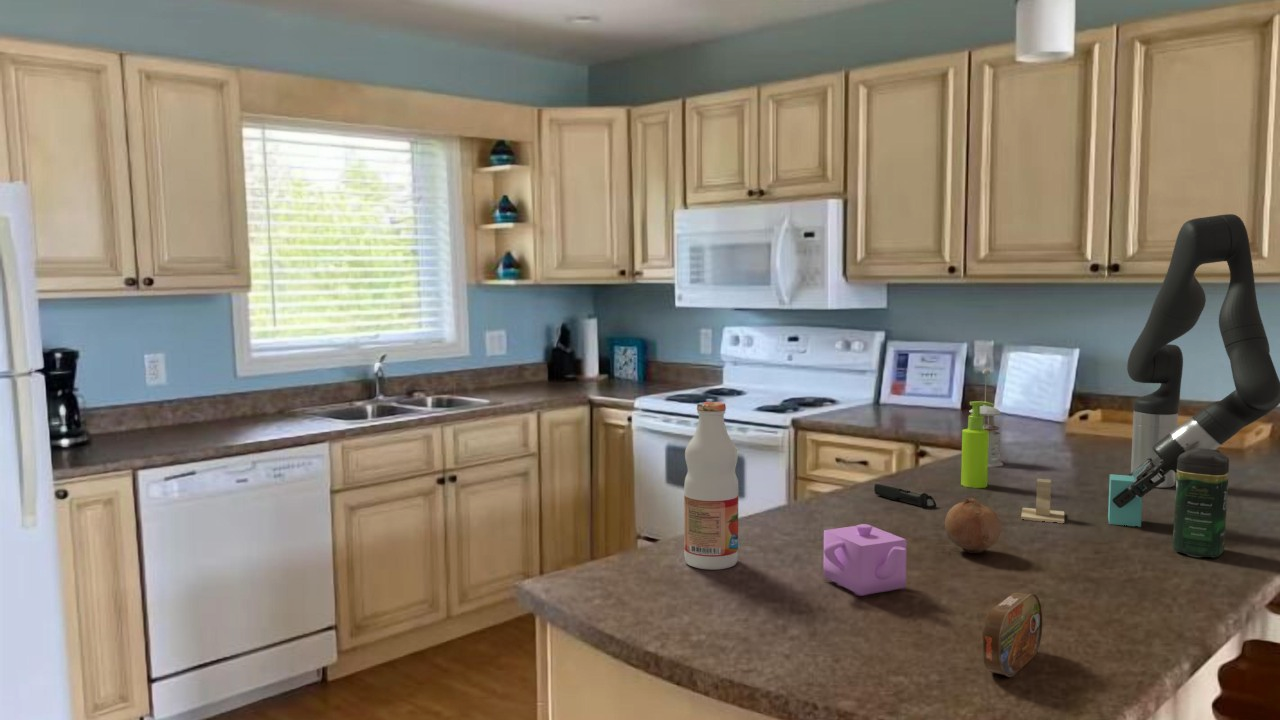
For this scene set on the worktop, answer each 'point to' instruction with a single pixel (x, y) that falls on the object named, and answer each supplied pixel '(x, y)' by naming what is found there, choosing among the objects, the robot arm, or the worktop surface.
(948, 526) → the onion
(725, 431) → the fruit juice
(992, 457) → the french press
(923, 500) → the electric trimmer
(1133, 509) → the teal tower prism
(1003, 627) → the tin
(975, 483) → the soap dispenser
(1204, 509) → the coffee jar
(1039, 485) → the post
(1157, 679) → the worktop surface
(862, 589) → the teapot
